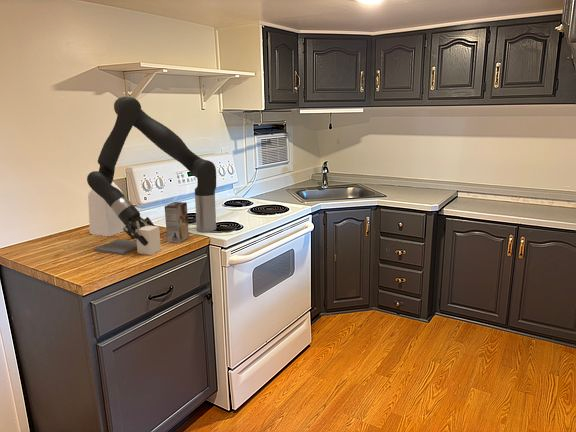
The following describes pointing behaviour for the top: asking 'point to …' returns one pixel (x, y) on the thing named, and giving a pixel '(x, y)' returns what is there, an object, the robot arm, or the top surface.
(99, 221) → the milk
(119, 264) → the top surface
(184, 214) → the coffee box
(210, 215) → the robot arm
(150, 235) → the white rectangular block
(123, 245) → the mat
